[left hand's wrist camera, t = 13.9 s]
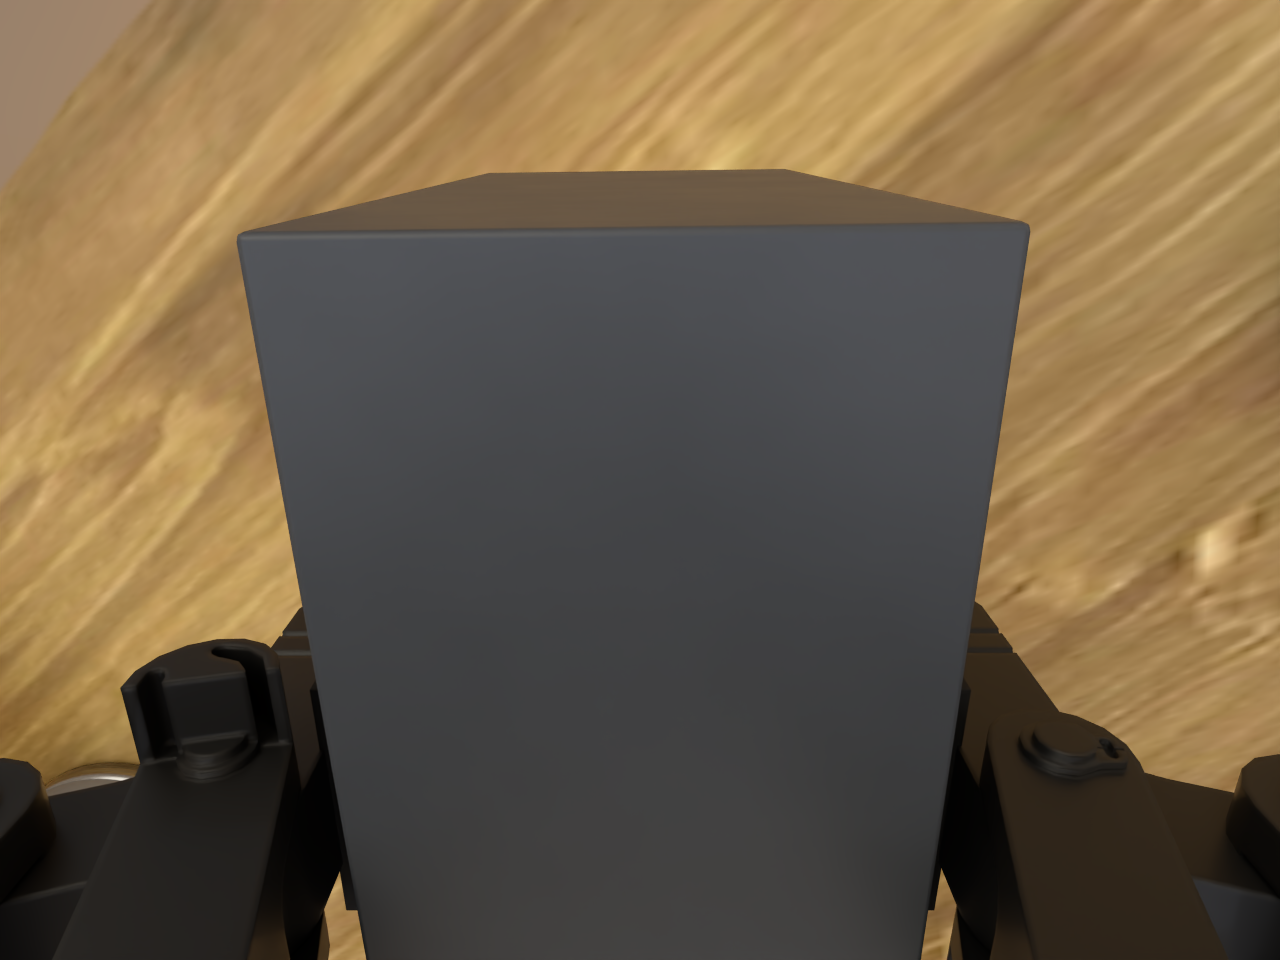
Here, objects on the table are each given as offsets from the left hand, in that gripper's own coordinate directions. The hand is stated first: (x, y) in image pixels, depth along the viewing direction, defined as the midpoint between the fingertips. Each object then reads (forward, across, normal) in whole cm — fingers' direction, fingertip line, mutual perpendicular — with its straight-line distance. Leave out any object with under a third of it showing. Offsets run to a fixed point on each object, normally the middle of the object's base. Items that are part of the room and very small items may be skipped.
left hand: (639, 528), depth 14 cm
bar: (+1, 0, -35) cm, 35 cm away
